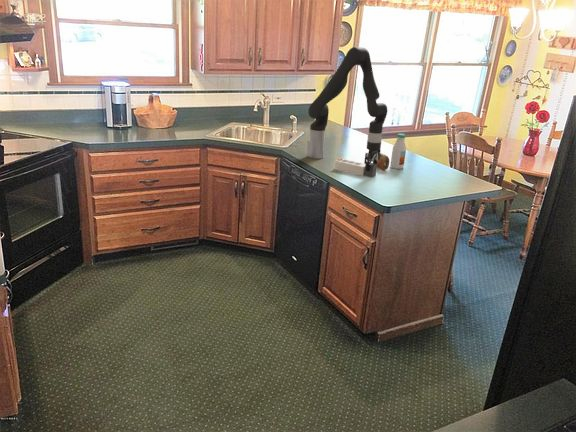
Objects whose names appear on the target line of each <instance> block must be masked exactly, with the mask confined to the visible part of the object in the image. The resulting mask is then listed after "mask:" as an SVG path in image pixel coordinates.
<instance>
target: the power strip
mask: <svg viewBox="0 0 576 432" xmlns="http://www.w3.org/2000/svg"><path fill="white" fill-rule="evenodd" d="M334 170H335V171H340V172H345V173H349V174H354V175H358V176H362V177H363V176H365V175H364V172H365V164H364V163H363V162H358V161H354V160H350V159H346V158H341V157H340V158H337V159H336V160H335V161H334Z"/></svg>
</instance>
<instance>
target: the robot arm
mask: <svg viewBox="0 0 576 432" xmlns="http://www.w3.org/2000/svg"><path fill="white" fill-rule="evenodd" d="M355 66H360V68H361V70H362V77H363V79H362V89H363V92H364V95H365V98H366V106H367V107H366V108H367V109H366V110H367V113H368V115H369V116H370V117H371V118H374V119H373V120H371V121H370V123H369V127H368V134H367V141H366V149H367V150H368V152H365V155H364V164H366V171H370V164H371V163H375V164H377V162H378V160H380V153H381V148H382V139H383V126H384V123H385V121H386V118H387V115H388V107H387V105H386V104H385V103H384V102H377V100H378V99H379V98H380V92H379V89H378V87H377V84H376V81H375V77H374V71H373V66H372V61H371V56H370V53H369V50H368V48H365V47H360V46H352V47H351V48H350V49H349V50H348V51H347V53H346V55H345V56H344V58H343V59H342V61H341V63H340V65H339V66H338V68H337V69H336V71H335V72H334V74H333V75H332V76H331V78H330V79H329V81H328V82H327V83H326V85H325V86H324V88H323V89H322V91H321V92H320V93H319V94H318V96H317V97H316V98H315V99H314V100H313V101H312V102H311V104H310V105H309V108H308V115H309V117H310V118H311V119H314V121H313V122H312V123H310V127H309V129H310V130H309V140H308V141H307V147H306V148H307V149H306V157H308V158H309V159H314V160H315V159H316V160H320V159H323V158H324V149H325V140H326V139H325V136H326V127H327V125H328V121H329V112H330V111H329V106H328V104H329V103H330V102H331V101H333V100H334V99H335V98H337V97H338V96H339V95H340V94H341V93H342V92H343V90H344V89H345V88H346V86H347V84H348V78H349V73H350V72H351V71H352V69H353V68H354V67H355Z"/></svg>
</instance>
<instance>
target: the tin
mask: <svg viewBox="0 0 576 432" xmlns="http://www.w3.org/2000/svg"><path fill="white" fill-rule="evenodd" d="M389 166H390V158H389V156H388V155H386V154H384V153H382V152H380V160H378V162H377V169H378V170H382V171H384V170H385V171H386V170H388V168H389Z"/></svg>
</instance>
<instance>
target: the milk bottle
mask: <svg viewBox="0 0 576 432" xmlns="http://www.w3.org/2000/svg"><path fill="white" fill-rule="evenodd" d="M396 135H397V136H396V138H397V139H396V141H395V142H394V144H393V147H392V152H391V159H390V164H389V166H390V169H391V168H392V169H395V170H402V169H404V167H405V159H406V152H407V145H406V143H405V139H406V134H405V133H397V134H396Z"/></svg>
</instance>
